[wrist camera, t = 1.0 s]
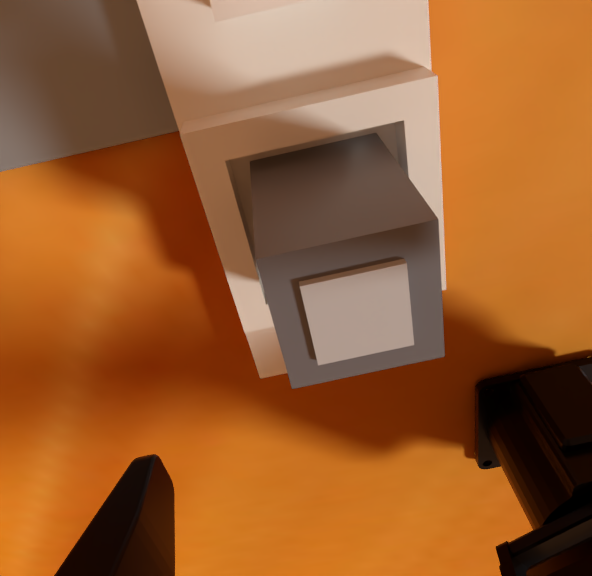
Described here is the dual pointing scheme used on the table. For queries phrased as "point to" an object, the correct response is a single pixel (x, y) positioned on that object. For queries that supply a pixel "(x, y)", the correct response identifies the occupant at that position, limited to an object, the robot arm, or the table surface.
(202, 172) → the power strip
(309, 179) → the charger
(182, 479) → the table surface
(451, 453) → the table surface
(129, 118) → the coaster
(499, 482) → the table surface
